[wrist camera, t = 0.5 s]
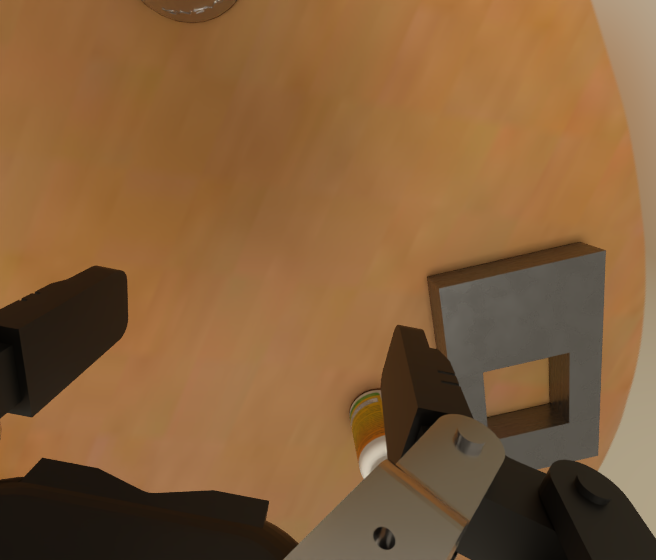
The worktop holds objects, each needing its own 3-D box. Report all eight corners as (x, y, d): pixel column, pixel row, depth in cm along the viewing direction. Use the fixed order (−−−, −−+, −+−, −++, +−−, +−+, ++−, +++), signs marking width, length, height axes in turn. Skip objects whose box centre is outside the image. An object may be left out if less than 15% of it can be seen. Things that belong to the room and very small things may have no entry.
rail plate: (427, 276, 34) (438, 288, 31) (579, 241, 34) (605, 250, 31) (451, 463, 41) (463, 486, 38) (577, 434, 41) (597, 455, 38)
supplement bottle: (343, 428, 38) (357, 515, 29) (356, 384, 37) (375, 461, 28) (393, 435, 39) (422, 522, 30) (408, 392, 38) (443, 470, 28)
